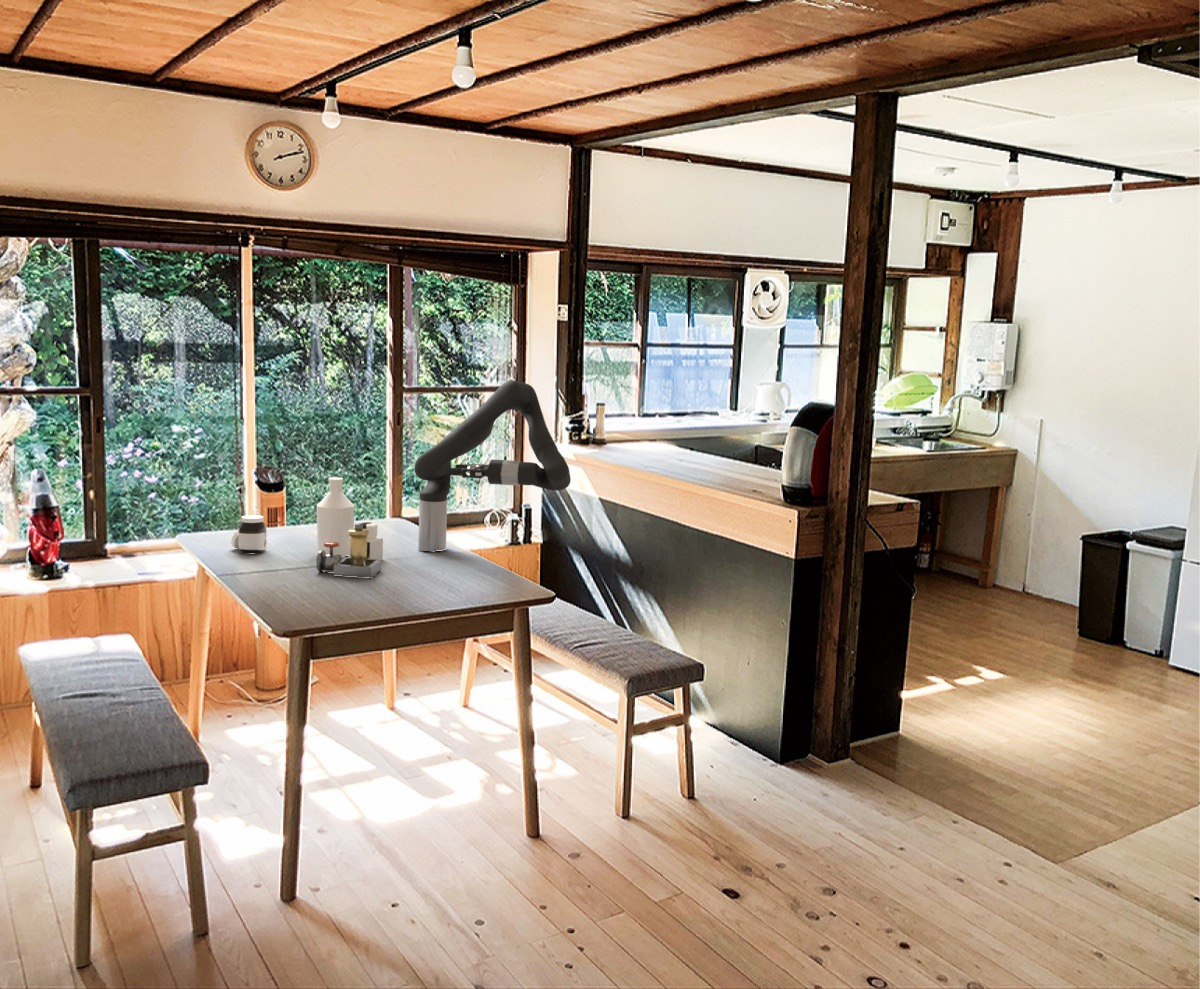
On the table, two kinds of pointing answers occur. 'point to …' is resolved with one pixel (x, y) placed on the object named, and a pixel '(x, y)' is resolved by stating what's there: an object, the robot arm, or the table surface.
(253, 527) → the spread jar
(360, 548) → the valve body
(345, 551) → the bottle
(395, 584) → the table surface
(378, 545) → the medicine bottle
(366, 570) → the grey piece
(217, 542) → the table surface
